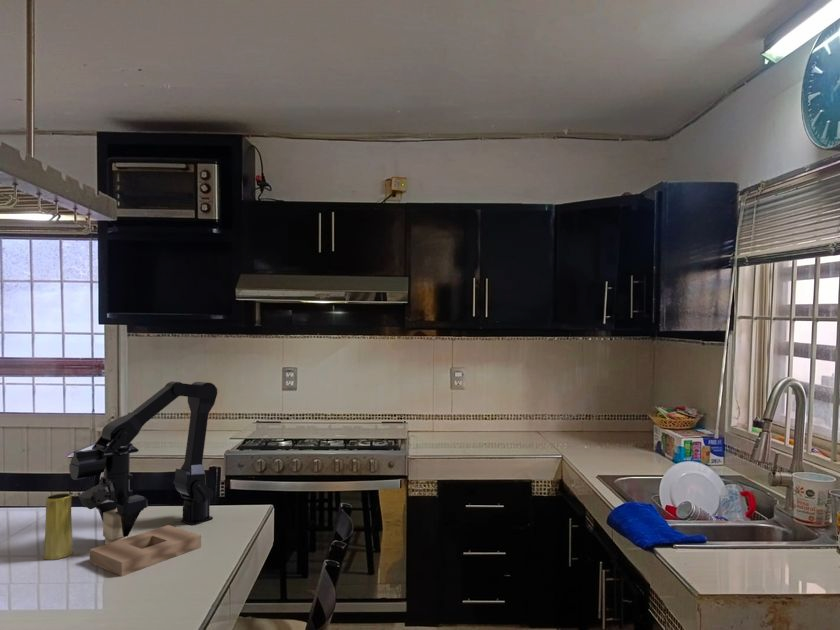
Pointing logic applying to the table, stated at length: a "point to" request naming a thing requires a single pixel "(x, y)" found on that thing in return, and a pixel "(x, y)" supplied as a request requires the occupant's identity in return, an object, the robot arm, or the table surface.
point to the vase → (58, 527)
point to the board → (144, 549)
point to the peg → (112, 527)
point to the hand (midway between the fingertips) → (116, 533)
